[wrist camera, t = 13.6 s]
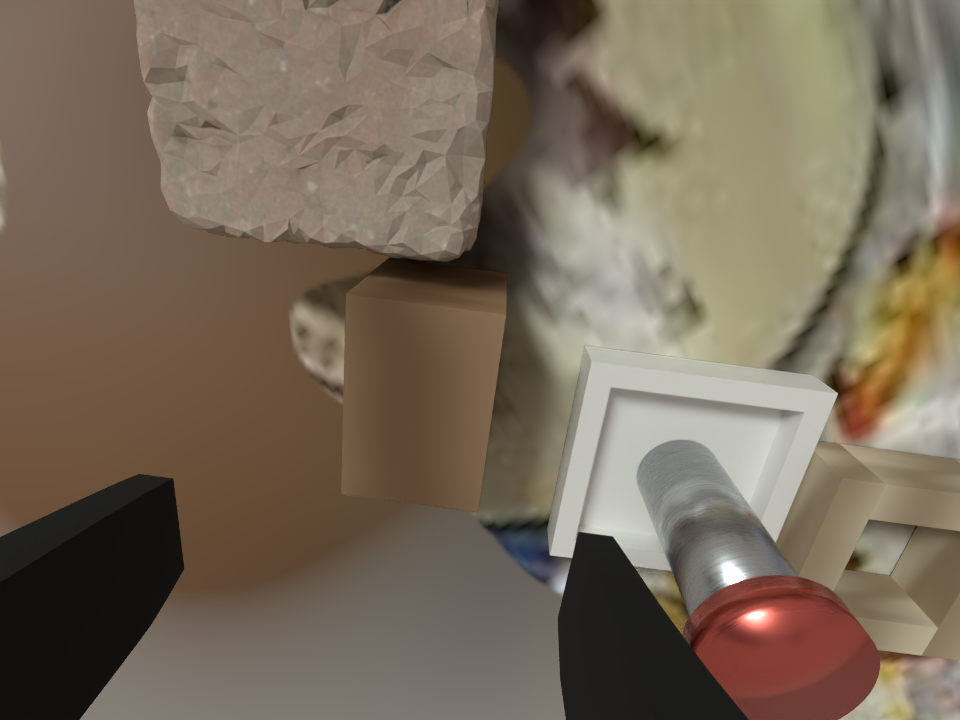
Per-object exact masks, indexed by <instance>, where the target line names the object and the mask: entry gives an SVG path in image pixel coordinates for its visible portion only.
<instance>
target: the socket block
mask: <svg viewBox="0 0 960 720" xmlns="http://www.w3.org/2000/svg"><path fill="white" fill-rule="evenodd" d="M869 519H871V520H879V521H886V522H894V523H901V524H909V525H917V528H916V529H915V531H914V533H913V535H912V537H911V539H910V541H909V542H908V544H907V546H906V548H905V550H904V552H903V554H902V555H901V557H900V559H899V561H898V563H897V565H896V567H895V568H894V570H893V572H892V574H891V576H888V575H880V574H873V573H865V572H858V571H850V570H844V569H845V567H846V565H847V563H848V561H849V559H850V556H851V554H852V552H853V550H854V548H855V546H856V544H857V542H858V540H859V538H860V536H861V534H862V532H863V530H864V528H865V526H866V524H867V522H868V520H869ZM776 544H777V545H778V547H779V548H780V550H781V551H782V553H783V554H784V555H785V557H786V558H787V560H788V561H789V563H790V564H791V566H792V567H793V568H794V570H795V571H796V573H797V574H798V576H799V577H802V578H806V579H810V580H812V581H815V582H818V583H820V584H822V585H824V586H826V587H828V588H829V589H830V590H832V591H833V592H835V593H836V594H837V595H838V596H839V597H840V598H841V599H842V600H843V602H844V603H845V604H846V606H847V607H848V608H849V610H850V611H851V612H852V614H853V615H854V616H855V618H856V619H857V620H858V622H859V623H860V624H861V626H862V627H863V628H864V629H865V631H866V632H867V633H868V635H869V636H870V638H871V639H872V640H873V642H874V643H875V645H876V648H877V650H883V651H891V652H899V653H906V654H914V655H921V656H929V657H936V658H944V659H952V660H960V460H959V459H951V458H944V457H936V456H928V455H921V454H913V453H905V452H898V451H890V450H882V449H875V448H867V447H859V446H852V445H844V444H836V443H829V442H821V441H818V443H817V445H816V447H815V450H814V452H813V455H812V457H811V459H810V462H809V464H808V467H807V469H806V471H805V474H804V476H803V479H802V481H801V483H800V486H799V488H798V491H797V493H796V495H795V498H794V500H793V502H792V505H791V507H790V510H789V512H788V514H787V517H786V519H785V522H784V524H783V526H782V529H781V531H780V534H779V536H778V538H777V541H776Z"/></svg>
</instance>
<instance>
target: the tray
mask: <svg viewBox="0 0 960 720" xmlns="http://www.w3.org/2000/svg"><path fill="white" fill-rule="evenodd" d="M837 395H838V393H837V392H835V391H834V390H832V389H831V388H830V387H828V386H827V385H825V384H824V383H823V382H821V381H820V380H818V379H817V378H816V377H814V376H813V375H807V374H799V373H791V372H784V371H776V370H768V369H760V368H753V367H745V366H737V365H730V364H722V363H714V362H706V361H699V360H691V359H683V358H676V357H668V356H660V355H652V354H645V353H637V352H629V351H622V350H614V349H606V348H599V347H591V346H585V349H584V354H583V359H582V363H581V368H580V373H579V378H578V383H577V388H576V392H575V397H574V402H573V407H572V412H571V416H570V421H569V426H568V431H567V436H566V441H565V445H564V450H563V455H562V460H561V465H560V469H559V474H558V479H557V484H556V489H555V493H554V498H553V503H552V508H551V513H550V518H549V522H548V527H547V532H548V541H549V551H550V555H553V556H561V557H568V558H572V556H573V552H574V548H575V543H576V539H577V535H578V532H584V533H591V534H599V535H606V536H613V537H614V539H615V540H616V541H617V543H618V544H619V546H620V547H621V549H622V550H623V551H624V553H625V554H626V556H627V557H628V559H629V560H630V562H631V563H632V565H633V566H636V567H644V568H652V569H659V570H667V571H671V568H670V566H669V563H668V561H667V558H666V556H665V553H664V551H663V548H662V546H661V543H660V541H659V538H658V536H657V533H656V531H655V528H654V526H653V523H652V521H651V518H650V515H649V513H648V510H647V508H646V505H645V503H644V500H643V498H642V495H641V493H640V490H639V488H638V485H637V479H636V475H637V470H638V467H639V464H640V462H641V461H642V459H643V458H644V457H645V455H646V454H647V453H648V452H649V451H651V450H652V449H653V448H655V447H657V446H658V445H660V444H663V443H665V442H668V441H673V440H691V441H695V442H698V443H701V444H703V445H704V446H706V447H707V448H709V449H710V450H711V451H712V452H713V454H714V455H715V456H716V458H717V459H718V461H719V462H720V464H721V465H722V467H723V468H724V469H725V471H726V472H727V474H728V475H729V477H730V478H731V479H732V481H733V482H734V484H735V485H736V487H737V488H738V489H739V491H740V492H741V494H742V495H743V497H744V498H745V500H746V501H747V502H748V504H749V505H750V507H751V508H752V510H753V511H754V512H755V514H756V515H757V517H758V518H759V520H760V521H761V522H762V524H763V525H764V527H765V528H766V530H767V531H768V533H769V534H770V535H771V537H772V538H773V540H774V541H775V543H776V541H777V538H778V536H779V534H780V531H781V529H782V526H783V524H784V522H785V519H786V517H787V514H788V512H789V510H790V507H791V505H792V502H793V500H794V498H795V495H796V493H797V491H798V488H799V486H800V483H801V481H802V479H803V476H804V474H805V471H806V469H807V467H808V464H809V462H810V459H811V457H812V455H813V452H814V450H815V447H816V445H817V443H818V440H819V438H820V436H821V433H822V431H823V428H824V426H825V424H826V421H827V419H828V416H829V414H830V412H831V409H832V407H833V404H834V402H835V400H836V397H837Z"/></svg>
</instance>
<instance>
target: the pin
mask: <svg viewBox="0 0 960 720" xmlns="http://www.w3.org/2000/svg"><path fill="white" fill-rule="evenodd" d="M636 479H637V485H638V488H639V490H640V493H641V495H642V498H643V500H644V503H645V505H646V508H647V510H648V513H649V515H650V518H651V521H652V523H653V526H654V528H655V531H656V533H657V536H658V538H659V541H660V543H661V546H662V548H663V551H664V553H665V556H666V558H667V561H668V563H669V566H670V568H671V571H672V573H673V576H674V578H675V581H676V583H677V586H678V588H679V591H680V593H681V596H682V598H683V601H684V604H685V606H686V609H687V611H688V614H689V616H690V618H689V619H688V621H687V623H686V625H685V628H684V631H683V635H682V636H683V637H684V638H685V640H686V641H687V642H688V644H689V645H690V646H691V648H692V649H693V650H694V652H695V653H696V654H697V656H698V657H699V658H700V660H701V661H702V662H703V663H704V665H705V666H706V667H707V669H708V670H709V671H710V673H711V674H712V675H713V676H714V678H715V679H716V680H717V681H718V683H719V684H720V685H721V686H722V687H723V689H724V690H725V691H726V692H727V694H728V695H729V696H730V697H731V699H732V700H733V701H734V702H735V703H736V705H737V706H738V707H739V708H740V710H741V711H742V712H743V713H744V714H745V716H746V717H747V718H748V719H749V720H838V719H840V718H842V717H843V716H845V715H846V714H848V713H850V712H851V711H852V710H853V709H855V708H856V707H857V706H858V705H859V704H860V703H861V702H862V701H863V700H865V698H866V697H867V696H868V695H869V693H870V692H871V690H872V689H873V687H874V685H875V683H876V681H877V678H878V675H879V670H880V657H879V653H878V650H877V648H876V645H875V643H874V642H873V640H872V639H871V638H870V636H869V635H868V633H867V632H866V631H865V629H864V628H863V627H862V626H861V624H860V623H859V622H858V620H857V619H856V618H855V616H854V615H853V614H852V612H851V611H850V610H849V608H848V607H847V606H846V604H845V603H844V602H843V600H842V599H841V598H840V597H839V596H838V595H837V594H836V593H835V592H833V591H832V590H830V589H829V588H828V587H826V586H824V585H822V584H820V583H818V582H815V581H812V580H810V579H806V578H802V577H799V576H798V574H797V573H796V571H795V570H794V568H793V567H792V566H791V564H790V563H789V561H788V560H787V558H786V557H785V555H784V554H783V553H782V551H781V550H780V548H779V547H778V545H777V544H776V543H775V541H774V540H773V538H772V537H771V535H770V534H769V533H768V531H767V530H766V528H765V527H764V525H763V524H762V522H761V521H760V520H759V518H758V517H757V515H756V514H755V512H754V511H753V510H752V508H751V507H750V505H749V504H748V502H747V501H746V500H745V498H744V497H743V495H742V494H741V492H740V491H739V489H738V488H737V487H736V485H735V484H734V482H733V481H732V479H731V478H730V477H729V475H728V474H727V472H726V471H725V469H724V468H723V467H722V465H721V464H720V462H719V461H718V459H717V458H716V456H715V455H714V454H713V452H712V451H711V450H710V449H709V448H707V447H706V446H704V445H703V444H701V443H698V442H695V441H691V440H673V441H668V442H665V443H663V444H660V445H658V446H657V447H655V448H653V449H652V450H651V451H649V452H648V453H647V454H646V455H645V457H644V458H643V459H642V461H641V462H640V464H639V467H638V470H637V475H636Z"/></svg>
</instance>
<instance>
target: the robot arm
mask: <svg viewBox="0 0 960 720" xmlns="http://www.w3.org/2000/svg"><path fill="white" fill-rule="evenodd" d="M183 570H184V563H183V554H182V546H181V538H180V530H179V522H178V513H177V505H176V497H175V489H174V481H173V478H165V477H157V476H150V475H142V474H138V475H136V476H133V477H131V478H128V479H126V480H123V481H121V482H119V483H116V484H114V485H112V486H109V487H107V488H105V489H103V490H100V491H98V492H96V493H94V494H92V495H90V496H87V497H85V498H83V499H81V500H79V501H77V502H74V503H72V504H70V505H68V506H66V507H64V508H62V509H60V510H58V511H55V512H53V513H51V514H49V515H47V516H45V517H42V518H40V519H38V520H36V521H34V522H32V523H30V524H28V525H25V526H23V527H21V528H19V529H17V530H14V531H12V532H10V533H8V534H6V535H4V536H2V537H0V720H80V718H81V717H82V716H83V714H84V713H85V712H86V710H87V709H88V708H89V706H90V705H91V704H92V703H93V701H94V700H95V699H96V697H97V696H98V695H99V693H100V692H101V691H102V689H103V688H104V687H105V685H106V684H107V683H108V682H109V680H110V679H111V678H112V676H113V675H114V674H115V672H116V671H117V670H118V668H119V667H120V666H121V665H122V663H123V662H124V661H125V659H126V658H127V656H128V655H129V654H130V653H131V651H132V650H133V649H134V647H135V646H136V645H137V643H138V642H139V641H140V639H141V638H142V636H143V635H144V634H145V632H146V631H147V630H148V628H149V627H150V626H151V624H152V622H153V621H154V619H155V618H156V616H157V614H158V613H159V611H160V609H161V608H162V606H163V605H164V603H165V601H166V600H167V598H168V596H169V594H170V593H171V591H172V589H173V587H174V586H175V584H176V582H177V580H178V578H179V577H180V575H181V573H182V571H183ZM558 634H559V635H558V636H559V661H560V680H561V687H562V695H563V702H564V708H565V716H566V720H749V719H748V718H747V717H746V716H745V714H744V713H743V712H742V711H741V710H740V708H739V707H738V706H737V705H736V703H735V702H734V701H733V700H732V699H731V697H730V696H729V695H728V694H727V692H726V691H725V690H724V689H723V687H722V686H721V685H720V684H719V683H718V681H717V680H716V679H715V678H714V676H713V675H712V674H711V673H710V671H709V670H708V669H707V667H706V666H705V665H704V663H703V662H702V661H701V660H700V658H699V657H698V656H697V654H696V653H695V652H694V650H693V649H692V648H691V646H690V645H689V644H688V642H687V641H686V640H685V638H684V637H683V636H682V634H681V633H680V632H679V630H678V629H677V627H676V626H675V625H674V623H673V622H672V621H671V619H670V618H669V617H668V615H667V614H666V612H665V611H664V610H663V608H662V607H661V605H660V604H659V603H658V601H657V600H656V598H655V597H654V595H653V594H652V593H651V591H650V590H649V588H648V587H647V585H646V584H645V582H644V581H643V579H642V578H641V577H640V575H639V574H638V572H637V571H636V569H635V568H634V566H633V565H632V563H631V562H630V560H629V559H628V557H627V556H626V554H625V553H624V551H623V550H622V549H621V547H620V546H619V544H618V543H617V541H616V540H615V539H614V537H613V536H606V535H599V534H591V533H584V532H578V535H577V539H576V543H575V548H574V552H573V556H572V560H571V565H570V569H569V573H568V577H567V582H566V586H565V590H564V594H563V599H562V603H561V607H560V611H559V616H558Z"/></svg>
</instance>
